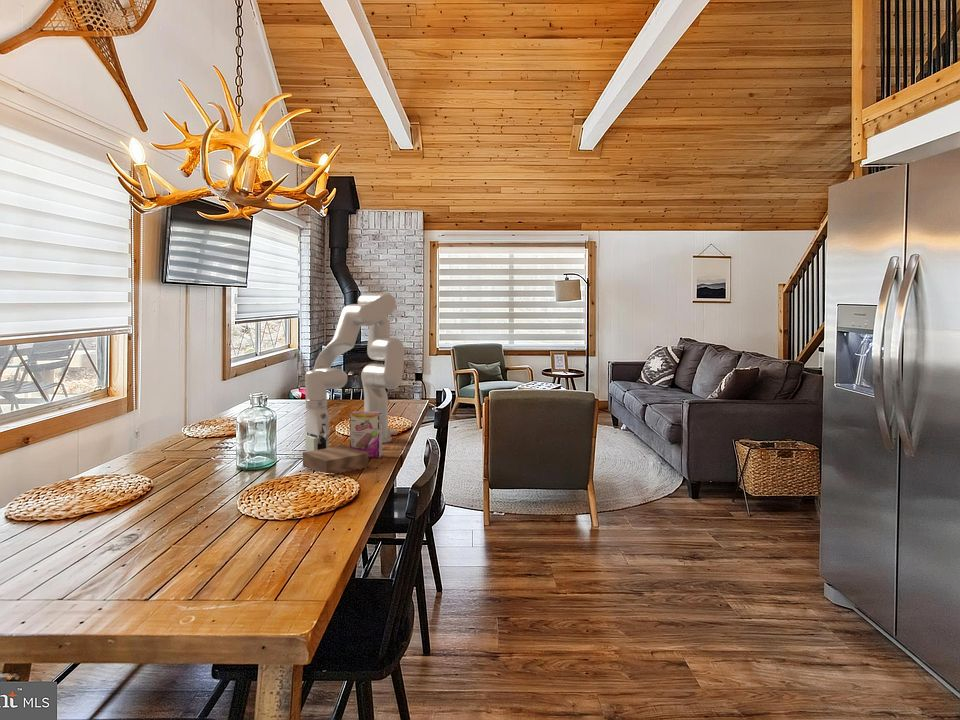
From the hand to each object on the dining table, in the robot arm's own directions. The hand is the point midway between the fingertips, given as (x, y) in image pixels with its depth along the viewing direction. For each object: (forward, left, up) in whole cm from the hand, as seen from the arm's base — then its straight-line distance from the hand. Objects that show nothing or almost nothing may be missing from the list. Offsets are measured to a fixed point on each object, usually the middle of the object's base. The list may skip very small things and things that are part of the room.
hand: (317, 451), depth 233 cm
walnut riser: (+4, +20, -1) cm, 20 cm away
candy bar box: (-12, +14, -1) cm, 19 cm away
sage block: (0, 0, -1) cm, 1 cm away
